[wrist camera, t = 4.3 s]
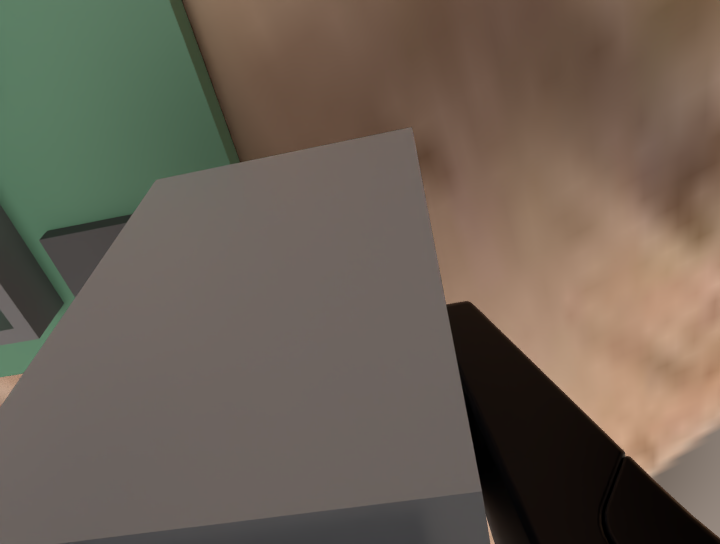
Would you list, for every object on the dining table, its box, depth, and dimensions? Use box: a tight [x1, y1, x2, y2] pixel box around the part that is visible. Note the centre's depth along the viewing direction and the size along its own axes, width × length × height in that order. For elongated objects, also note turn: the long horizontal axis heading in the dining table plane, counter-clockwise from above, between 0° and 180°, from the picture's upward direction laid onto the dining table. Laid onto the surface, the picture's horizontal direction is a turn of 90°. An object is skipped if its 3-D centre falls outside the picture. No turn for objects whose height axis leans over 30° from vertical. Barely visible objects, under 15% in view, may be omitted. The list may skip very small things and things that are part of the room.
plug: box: [0, 127, 490, 544], centre depth 8 cm, size 4×6×6 cm
